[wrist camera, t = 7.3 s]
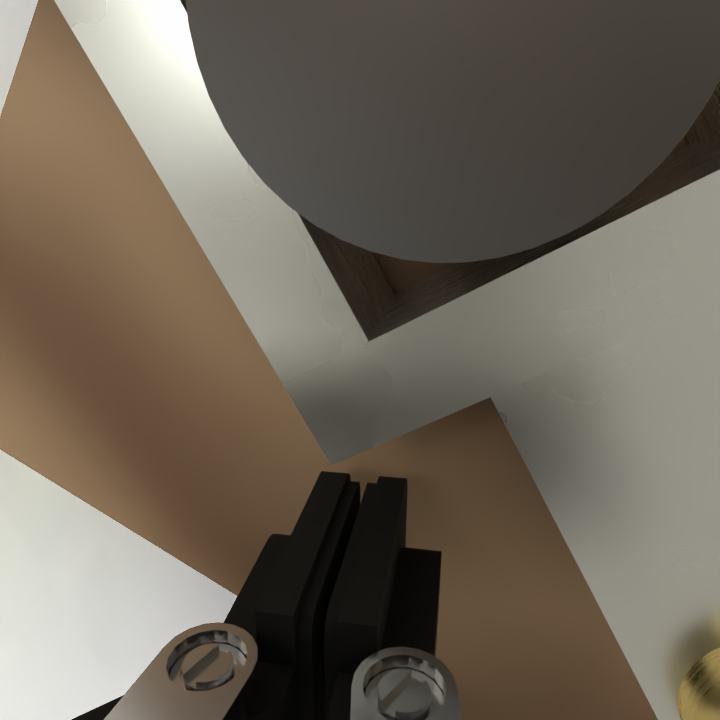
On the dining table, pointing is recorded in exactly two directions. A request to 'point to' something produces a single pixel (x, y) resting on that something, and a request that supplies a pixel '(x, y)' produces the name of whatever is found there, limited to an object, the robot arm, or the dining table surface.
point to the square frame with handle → (487, 344)
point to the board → (229, 420)
